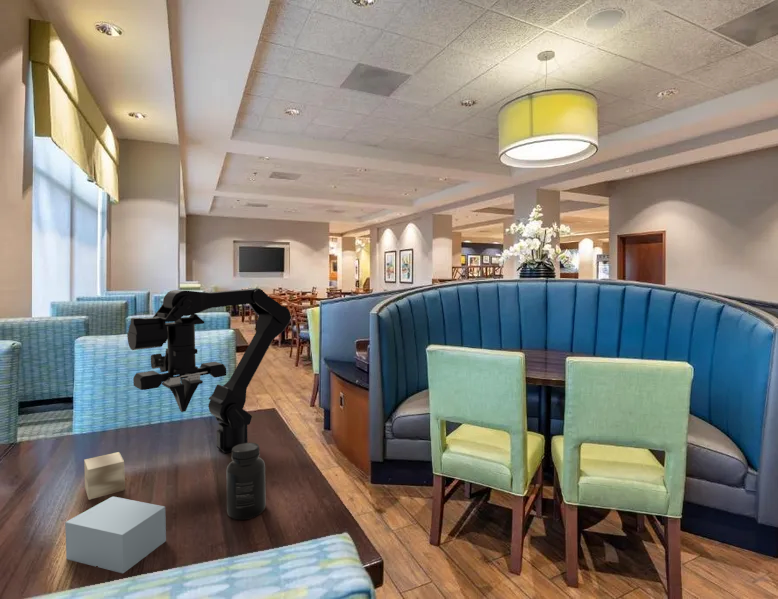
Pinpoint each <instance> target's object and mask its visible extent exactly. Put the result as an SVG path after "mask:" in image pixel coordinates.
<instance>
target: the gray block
mask: <svg viewBox="0 0 778 599" xmlns="http://www.w3.org/2000/svg"><path fill="white" fill-rule="evenodd" d="M166 520H167V519H166V506H165V505H159V504H155V503H154V504H153V503H148V502H143V501H138V500H133V499H128V498H123V497H119V496H118V497H117V496H111V497H109V498H107V499H105V500H104V501H102V502H100V503H98V504H96V505H93V507H90V508H89V509H87V510H85V511H84V512H81V513H79V514H77V515H75V516H74V517H72V518H70V519H68V520H67V521H65V523H64V524H65V549H66V550H65V553H66V554H65V557H66V558H65V559H66V560H68V561H71V562H77V563H80V564H84V565H89V566H92V567H96V566H98V567H97V568H101V569H105V570H109V571H111V572H116V573H119V574H124V573H126V572H127V571H128V570H130V569H131V568H133V567H134V566H135V565H136V564H138V563H139V562H140V561H141V560H143V559H144V558H145V557H147V556H148V555H149V554H151V553H152V552H153V551H155V550H156V549H157V548H159V547H160V546H162V545H163V544H164V543H165V542H166V541H167V531H166V529H167V527H166V526H167V525H166Z"/></svg>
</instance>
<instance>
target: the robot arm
mask: <svg viewBox="0 0 778 599" xmlns="http://www.w3.org/2000/svg"><path fill="white" fill-rule="evenodd" d="M240 305H242V306H243V305H249V307H251V309H252V311H253V312H254V313H255V314H256V315H258V317H257V320H256V329H255V333H254V335H253V337H252V338H251V341H249V345H248V346H247V348H246V350H245V351H244V353H243V355H242V357H241V358H240V360H239V363H238V364H237V366H236V368H235V369H234V371H233V373H232V374H231V377H230V379H229V380H228V381H227V382H226V383H225V384H223V385H221V384H219V383H218V384H217V385H215V387H214V390H213V393H212V394H211V395H210V396H209V397H208V400H209V403H208V405H207V407H208V410H209V413H210V414H211V415H212V416H214V417H215V420H216V422H219V423H218V429H216V447H217V448H219V450H221V452H223V453H224V454H227V453H232V448H233V447H234V446H236V445H238V444H242V443H249V442H248V440H249V439H248V437H249V436H248V425H250V424H251V421H252V418H253V415H251V414H250V413H249V412H248V411H246V410H245V409H244V407H245V405H246V401H247V389H248V387H249V385H250V383H251V381H252V380H253V377H254V376H255V374H256V372H257V371H258V368H259V366H260V364H261V363H262V360H264V357H265V355H266V354H267V352H268V350H269V348H270V346H271V344H272V342H273V340H274V339H276V338H277V337H278V336H279V335H281V334H282V333H283V332H284V330H285V329H286V328H287V326H288V325H289V324H290V322H291V319H292V315H291V312H290V309H288V307H286V306H283V305H281V303H279V302H278V301H277V300H275V299H274V298H272V297H271V296H269V295H268V294H267V293H265V291H264V290H262V289H261V288H257V287H256V288H254V287H253V288H252V287H248V288H246V289H244V288H243V289H234V290H223V291H222V290H221V291H210V292H206V291H205V292H204V291H196V290H195V291H194V290H182V289H181V290H179V289H173V290H170V291H167V293H166V294H165V295H164V297H163V299H162V304H161V306H160V307H159V308H158V309H157V311H156V312H155V314H154V315H153V316H152V317H131V318H130V324H129V326H128V332H127V335H126V337H127V343H128V346H129V348H130V350H132V351H136V350H138V351H139V350H145V349H154V348H162V347H163V345H164V344H167V348H166V349H165V354H164V355H163V356H162V353H155V354H154V353H153V354H151V355H150V367H151V369H153V370H150V371H141V372H136V373H135V374H134V376H133V387H135V388H137V389H139V390H141V391H145V390H146V391H147V390H152V389H158V388H159V387H160V386H163V387H165V388H168V389H169V390H170V392H171V393H172V395H173V397H174V399H175V402H176V404H177V406H178V408H179V411H180V412H182V413H184V412H186V411H187V409H188V407H189V404H190V402H191V400H192V398H193V396H194V394H195V392H196V390H197V388H198V387H199V385H202V384H204V381H203V380H202V379H201V376H206V375H210V376H211V377H213V378H221V377H226V376H227V368H226V365H225V364H224V363H220V362H218V361H210V362H202V363H201V365H199V366H200V367H198V366H196V363H197V362H196V354H198V348H196V329H195V328H196V325H203V324H205V321H204V320H203V318H201V317H200V316H199V315H198V313H202V312H204V311H206V310H210V309H214V308H222V307H223V308H225V307H230V306H231V307H234V306H240ZM154 369H159V371H160V372H157V371H155V370H154Z"/></svg>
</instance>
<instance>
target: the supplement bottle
mask: <svg viewBox="0 0 778 599" xmlns="http://www.w3.org/2000/svg"><path fill="white" fill-rule="evenodd" d="M260 455H261V453H260V444H258V443H256V442H248V443H242V444H238V445H236V446H234V447H233V448H232V452H231V461H230V462H229V463H228V464H227V467H226V469H225V470H226V472H225V473H226V512H227V515H228V516H229V517H230V518H232V519H233V520H238V521H239V520H240V521H241V520H249V519H252V518H255V517H257V516H259V515H260V514H262V513H263V512H264V511H265V508H266V500H267V499H266V498H267V497H266V496H267V495H266V463H265V460H264V459H262V458H261V457H260Z"/></svg>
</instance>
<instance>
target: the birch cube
mask: <svg viewBox="0 0 778 599" xmlns="http://www.w3.org/2000/svg"><path fill="white" fill-rule="evenodd" d="M83 461H84V464H83V465H84V466H83V467H84V490H85V492H86V496H87V499H88V500H89V501H90V500H93V499H97V498H101V497H105V496H108V495H111V494H114V493H119V492H122V491H125V490H126V489H125V488H126V487H125V485H126V484H125V483H126V481H125V479H126V478H125V461H124V458H123V457H122V455H121V453H120V452H119V451H118V452H113V453H108V454H103V455H100V456H94V457H90V458H86V459H85V458H84V460H83Z"/></svg>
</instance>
